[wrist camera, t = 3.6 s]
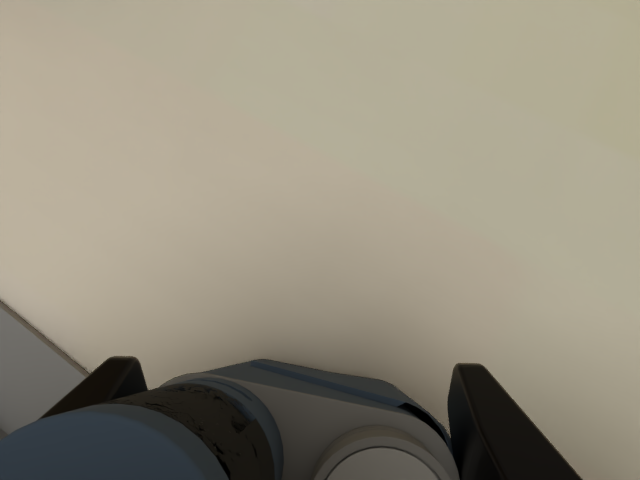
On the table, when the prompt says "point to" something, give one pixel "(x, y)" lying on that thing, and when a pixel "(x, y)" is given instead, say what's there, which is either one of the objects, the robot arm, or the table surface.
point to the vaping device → (239, 432)
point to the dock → (30, 373)
